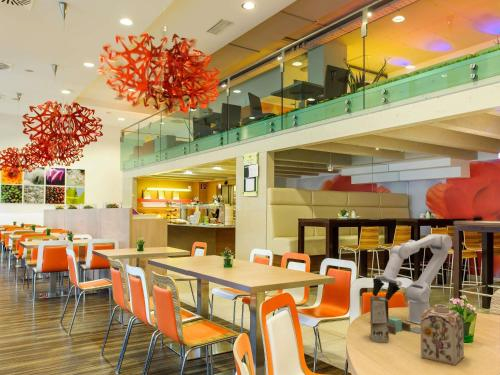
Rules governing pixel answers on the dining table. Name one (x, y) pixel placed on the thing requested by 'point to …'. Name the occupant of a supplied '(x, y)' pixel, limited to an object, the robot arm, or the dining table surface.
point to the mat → (415, 330)
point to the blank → (395, 323)
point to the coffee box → (379, 319)
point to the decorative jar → (442, 335)
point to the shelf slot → (404, 327)
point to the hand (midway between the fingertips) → (380, 297)
